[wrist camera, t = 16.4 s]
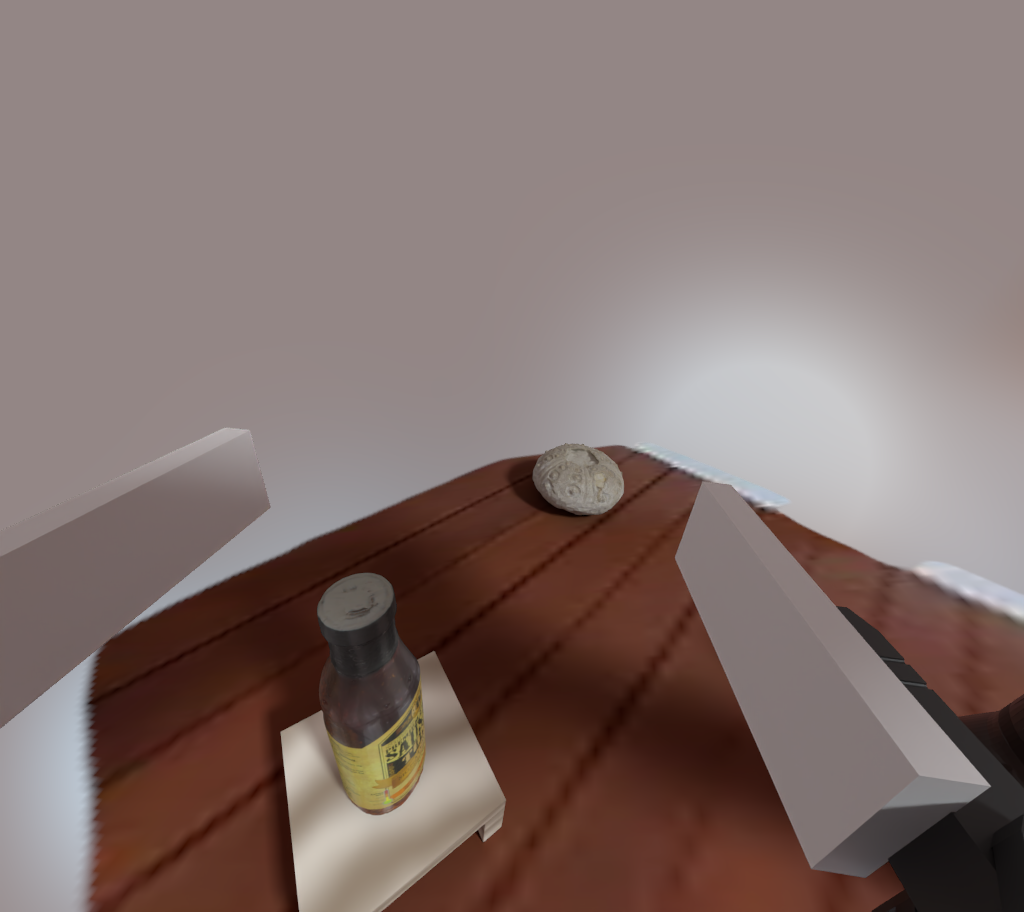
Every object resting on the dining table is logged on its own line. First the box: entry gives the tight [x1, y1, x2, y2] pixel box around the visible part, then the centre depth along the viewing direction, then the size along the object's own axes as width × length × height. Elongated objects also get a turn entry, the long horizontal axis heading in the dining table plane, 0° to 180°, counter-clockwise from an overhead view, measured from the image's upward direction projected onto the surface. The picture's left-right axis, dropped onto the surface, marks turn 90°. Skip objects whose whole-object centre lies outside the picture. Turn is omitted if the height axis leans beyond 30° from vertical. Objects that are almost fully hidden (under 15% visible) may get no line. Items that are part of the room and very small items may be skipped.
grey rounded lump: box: [533, 443, 624, 515], centre depth 71 cm, size 18×18×10 cm
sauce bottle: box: [317, 573, 426, 815], centre depth 25 cm, size 6×6×20 cm
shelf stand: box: [281, 651, 506, 912], centre depth 31 cm, size 14×14×6 cm
